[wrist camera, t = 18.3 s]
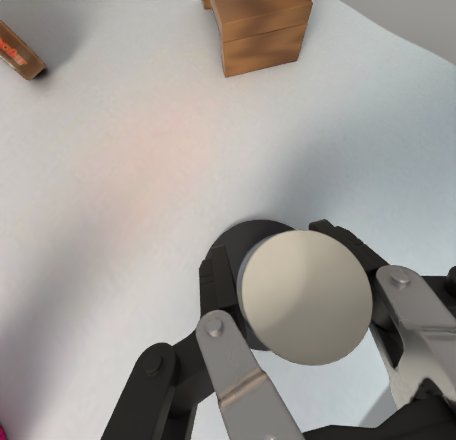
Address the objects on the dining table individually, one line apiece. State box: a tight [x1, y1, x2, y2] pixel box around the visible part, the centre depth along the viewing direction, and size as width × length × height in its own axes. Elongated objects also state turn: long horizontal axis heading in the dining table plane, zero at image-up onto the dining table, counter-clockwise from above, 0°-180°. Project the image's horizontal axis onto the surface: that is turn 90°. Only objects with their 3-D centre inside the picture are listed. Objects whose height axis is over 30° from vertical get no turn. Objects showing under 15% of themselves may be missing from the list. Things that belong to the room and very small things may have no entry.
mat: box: [205, 220, 295, 351], centre depth 17 cm, size 10×10×1 cm
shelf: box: [202, 0, 313, 77], centre depth 22 cm, size 8×12×5 cm, turn 14°
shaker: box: [235, 230, 373, 366], centre depth 12 cm, size 4×4×10 cm
